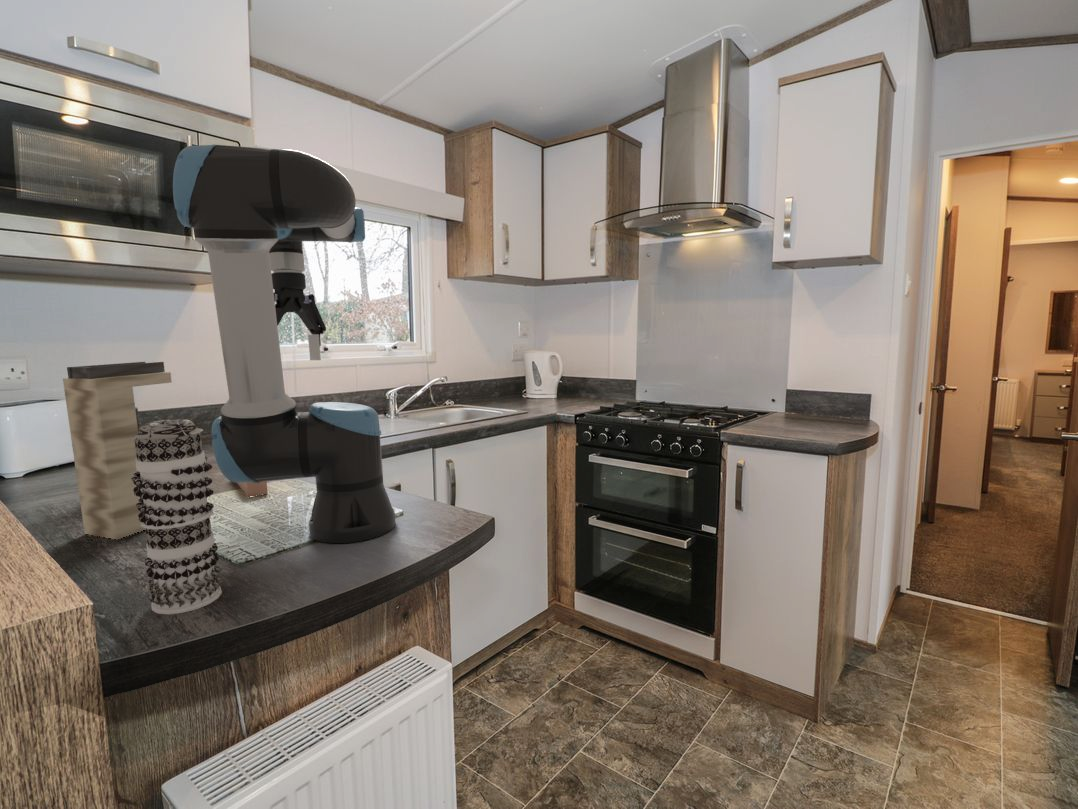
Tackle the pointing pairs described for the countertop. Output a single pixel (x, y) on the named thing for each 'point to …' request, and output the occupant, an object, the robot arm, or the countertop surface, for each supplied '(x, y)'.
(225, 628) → the countertop surface
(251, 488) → the reddish brown bar
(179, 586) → the decorative candle
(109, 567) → the countertop surface
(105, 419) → the shelf stand
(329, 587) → the countertop surface
